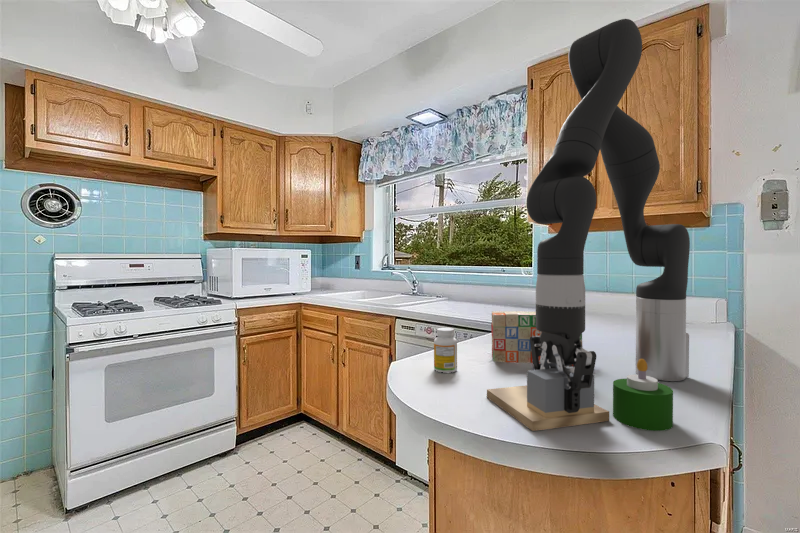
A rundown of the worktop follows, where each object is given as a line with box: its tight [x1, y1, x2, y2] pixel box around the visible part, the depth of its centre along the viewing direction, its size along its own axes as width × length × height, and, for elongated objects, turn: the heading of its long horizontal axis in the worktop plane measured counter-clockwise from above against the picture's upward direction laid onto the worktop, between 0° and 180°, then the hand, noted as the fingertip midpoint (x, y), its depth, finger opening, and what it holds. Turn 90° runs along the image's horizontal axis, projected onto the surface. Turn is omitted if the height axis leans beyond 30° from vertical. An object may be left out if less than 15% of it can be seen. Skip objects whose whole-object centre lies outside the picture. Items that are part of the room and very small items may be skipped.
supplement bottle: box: [433, 327, 458, 374], centre depth 92 cm, size 5×5×10 cm
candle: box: [612, 359, 674, 432], centre depth 64 cm, size 8×8×10 cm
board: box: [486, 384, 610, 432], centre depth 69 cm, size 14×15×2 cm
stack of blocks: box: [490, 310, 583, 364], centre depth 101 cm, size 21×6×12 cm, turn 80°
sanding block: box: [526, 367, 595, 418], centre depth 64 cm, size 5×9×6 cm, turn 105°
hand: (559, 404), depth 65 cm, fingers closed on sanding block, 5 cm apart
